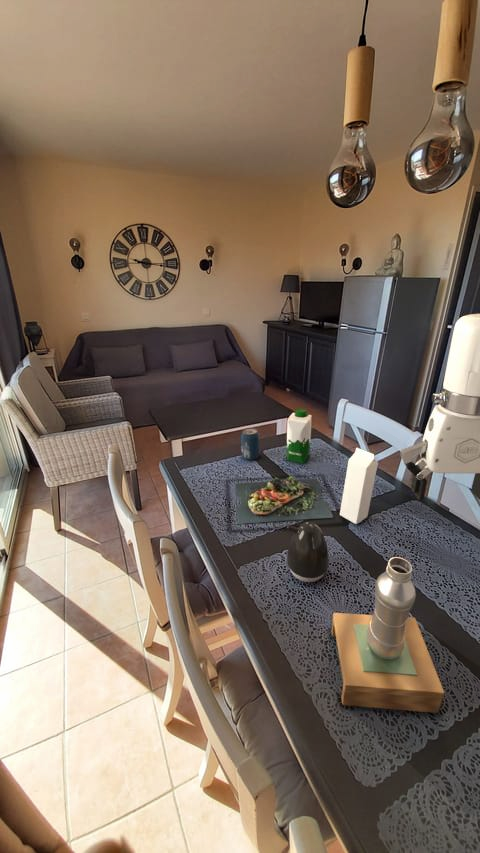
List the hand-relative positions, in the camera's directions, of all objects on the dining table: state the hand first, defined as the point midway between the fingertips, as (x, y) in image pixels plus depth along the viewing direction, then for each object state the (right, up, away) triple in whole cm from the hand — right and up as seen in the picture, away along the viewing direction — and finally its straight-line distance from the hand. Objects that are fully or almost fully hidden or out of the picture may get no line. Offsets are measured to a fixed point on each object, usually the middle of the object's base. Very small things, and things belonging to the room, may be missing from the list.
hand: (447, 495), depth 61 cm
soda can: (-31, -1, +85) cm, 91 cm away
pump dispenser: (-18, -25, +30) cm, 43 cm away
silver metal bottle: (-9, -29, +6) cm, 31 cm away
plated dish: (-22, -13, +58) cm, 63 cm away
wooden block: (-9, -35, +8) cm, 37 cm away
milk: (0, -16, +49) cm, 52 cm away
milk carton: (-12, -1, +84) cm, 84 cm away
